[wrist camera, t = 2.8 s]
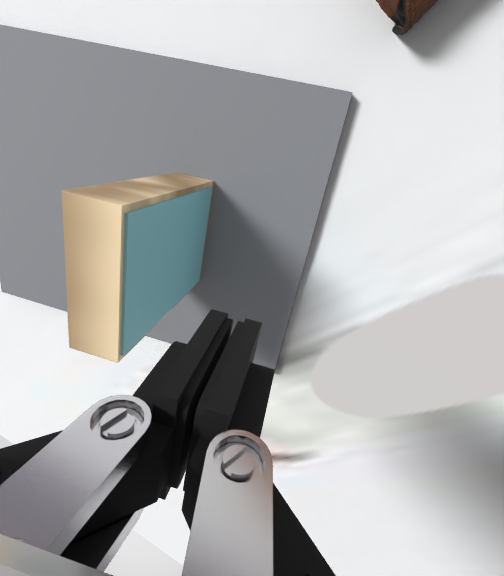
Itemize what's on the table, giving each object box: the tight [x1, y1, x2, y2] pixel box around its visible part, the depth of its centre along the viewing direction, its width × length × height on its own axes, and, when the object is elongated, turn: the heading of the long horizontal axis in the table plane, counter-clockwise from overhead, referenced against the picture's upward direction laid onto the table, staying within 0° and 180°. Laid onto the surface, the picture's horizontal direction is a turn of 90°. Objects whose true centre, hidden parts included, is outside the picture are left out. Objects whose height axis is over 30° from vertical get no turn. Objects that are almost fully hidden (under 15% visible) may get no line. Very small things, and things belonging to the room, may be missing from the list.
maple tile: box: [61, 172, 214, 363], centre depth 18 cm, size 3×7×10 cm, turn 169°
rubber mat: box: [0, 25, 353, 369], centre depth 23 cm, size 24×19×1 cm
